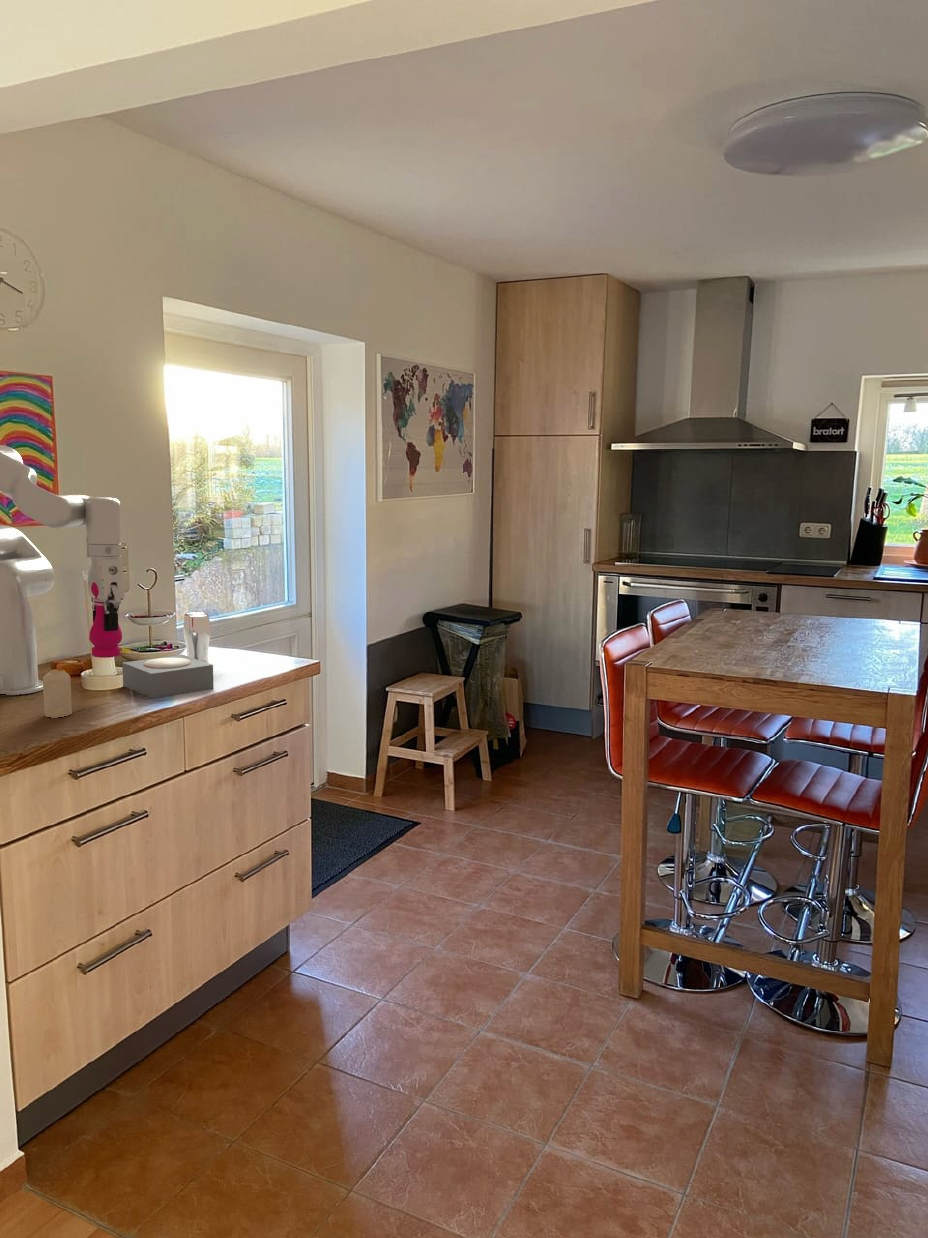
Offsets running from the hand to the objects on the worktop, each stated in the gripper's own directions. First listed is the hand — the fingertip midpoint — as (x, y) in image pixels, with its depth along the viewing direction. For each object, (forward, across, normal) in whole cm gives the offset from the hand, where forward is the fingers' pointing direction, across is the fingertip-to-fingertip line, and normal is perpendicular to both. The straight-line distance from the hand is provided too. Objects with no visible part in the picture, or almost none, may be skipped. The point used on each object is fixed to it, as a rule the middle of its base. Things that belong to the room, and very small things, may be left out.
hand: (105, 627), depth 211 cm
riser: (+17, 0, -16) cm, 23 cm away
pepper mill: (+7, 0, 0) cm, 7 cm away
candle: (+17, -9, +14) cm, 24 cm away
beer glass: (+17, +15, -32) cm, 39 cm away
